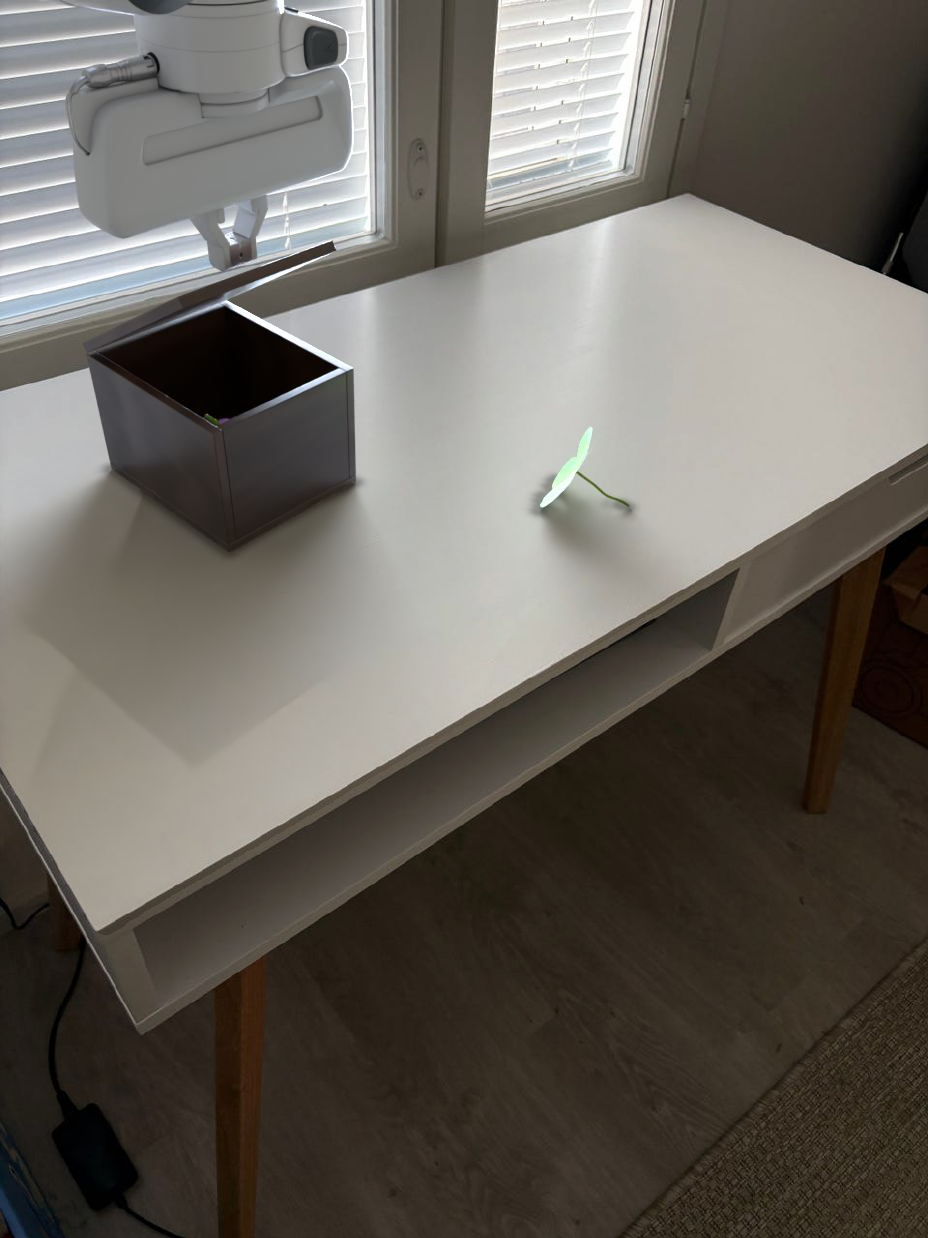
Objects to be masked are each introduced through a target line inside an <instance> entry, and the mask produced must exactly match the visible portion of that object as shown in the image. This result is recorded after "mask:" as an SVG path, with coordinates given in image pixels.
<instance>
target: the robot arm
mask: <svg viewBox="0 0 928 1238" xmlns="http://www.w3.org/2000/svg"><path fill="white" fill-rule="evenodd" d="M37 1H40V2H43V3H44V2H45V3H50V4H57V5H63V6H68V7H72V8H73V7H74V8H85V9H93V10H98V11H102V12H109V13H115V14H122V15H129V16H132V18H133V24H134V31H135V37H136V44H137V52H138V56H134V57H129V58H125V59H122V60H119V61H115V62H113V63H108V64H105V63H97V64H93V65H89V66H87V67H85V68H84V69H83V70H82V71H81V76H80V77H78V78H77V79H76V80H75V81H74V82H73V83H72V85H71V86H70V88H69V90H68V92H67V93H66V95H65V98H64V99H65V101H64V103H65V104H64V106H65V113H66V117H67V121H68V128H69V132H70V135H71V137H72V155H73V167H74V168H73V170H74V171H73V172H74V180H75V181H74V182H75V190H76V197H77V202H78V207H79V208H78V209H79V211H80V212H81V214H82V216H83V217H84V218H85V219H86V220H87V221H88V222H90V223H91V224H92V225H93V226H94V227H96V228H98V229H99V230H101V231H103V232H105V233H106V234H109V235H111V236H113V237H115V238H118V239H120V240H121V239H122V240H124V239H128V238H132V237H136V236H139V235H141V234H145V233H149V232H151V231H155V230H158V229H160V228H164V227H167V226H170V225H175V224H177V223H181V222H184V221H186V220H190V222H191V223H192V225H193V226H194V227H195V229H196V230H197V232H198V233H199V235H201V237H202V239H203V240H204V241H206V245H207V255H208V261H209V264H210V265H211V266H212V268H214V269H216V270H219V271H220V272H227V271H229V270H233V269H235V268H237V267H240V266H243V265H245V264H248V263H251V262H253V261H254V262H255V261H256V260H257V259H258V256H259V255H258V254H259V253H258V242H257V237H258V236H259V234H260V231H261V228H262V226H263V223H264V220H265V218H266V215H267V212H268V210H269V204H268V203H269V202H268V195H269V194H273V193H277V192H279V191H282V190H286V189H289V188H293V187H296V186H298V185H301V184H304V183H308V182H311V181H315V180H318V179H320V178H324V177H327V176H330V175H334V174H337V173H340V172H342V171H344V170H345V169H346V167H347V165H348V163H349V160H350V159H351V156H352V154H353V148H354V116H353V115H354V114H353V100H352V99H353V98H352V88H351V84H350V83H351V82H350V79H349V76H348V74H347V72H346V71H345V69H344V68H343V67H342V66H341V65H343V64H344V63H345V62H347V60H348V55H349V35H348V31H346V29H345V28H343V27H342V26H340V25H337V24H334V23H332V22H329V21H326V20H324V19H321V18H319V17H316V16H312V15H310V14H306V13H303V12H300V11H299V9H296V8H294V7H292V6H289V5H285V4H284V0H37ZM84 86H86V87H85V88H83V87H84ZM231 206H237V207H238V208H237V211H236V215H235V218H234V222H233V227H232V230H231V231H230V232H229V231H228V232H227V233H224V232H223V230H222V228H221V227H220V226H219V225H221V224H224V223H225V222H226V213H225V208H228V207H231Z"/></svg>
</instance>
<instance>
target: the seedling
mask: <svg viewBox="0 0 928 1238" xmlns="http://www.w3.org/2000/svg"><path fill="white" fill-rule="evenodd" d="M592 435H593V427H592V426H589V427H588V428H587V429H586V431H585V432H584V433H583V436H582V437H581V439H580V442H579V445H578V449H577V454H576V456H573V457H571V458H570V459H568V461H567V462H566V463H565V464H564V465H563V466H562V467H561V469H560V471H559V472H558V473H557V475H556V477H555V478H554V480H553V483H552V485H551V491H549V492H548V493H547V494H546V495H544V497H543V499H542V500H541V501H542V502H541V503H540V504H539V507H540V508H544V507H546V506H548V505H549V504H551V503H552V502H553V501H554V500H556V499H557V498H558V497H559V496H560V495H561V494H562V493H563V491H565V490H566V488H567V487H568V486H570V484H571V482H572V481H573V479H574V477H575V475H576V474H577V475H578V476H579V477H580V478H582V479H583V480H585V481H586V482H587V483H589V484H590V485H592V486H593V487H594V488H595V489H596V490H598V492H599V493H601V495H603V496H604V497H606V498H608V499H611V500H614V501H617V502H619V503H621V504H623V505H625V506H626V507H627V508H629V507H630V504H629V503H627V502H626V501H624V500H623V499H621V498H618V497H615V496H613V495H610V494H608V493H606V492H605V491H603V490H602V488H600V487H599V485H597V484H596V483H595V482H593V481H592V480H591V479H589V478H588V477H587V476H586V475H584V474H582V473H581V472H580V471H578V470H579V469H580V467H581V466H582V464H583V463H584V461H585V459H586V458H587V457H588V455H589V454H590V452H591V451H592V449H593V448H594V446H595V444H594V445H593V446H592V448H591V449H590V450H589V448H590V444H591V440H592V439H591V438H592Z"/></svg>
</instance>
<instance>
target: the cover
mask: <svg viewBox="0 0 928 1238" xmlns="http://www.w3.org/2000/svg"><path fill="white" fill-rule="evenodd" d="M337 251H338V250H337V248H336V244H335V242H334V240H333V239H331V240H329V241H326V242H322V243H320V244H317V245H315V246H312V247H309V248H306V249H303V250H301V251H298V252H295V253H293V254H290V255H287V256H285V257H282V258H279V259H276V260H273V261H270V262H268V263H266V264H263V265H260V266H257V267H255V268H252V269H249V270H246V271H243V272H241V273H238V274H235V275H233V276H230V277H227V278H225V279H221V280H219V281H216V282H213V283H211V284H208V285H205V286H202V287H200V288H197V289H195V290H191V291H189V292H186V293H183V294H181V295H178V296H176V297H173V298H172V299H170V300H167V301H166V302H163V303H161V304H159V305H158V306H155V307H153V308H151V309H150V310H147V311H145V312H143V313H141V314H139V315H137V316H135V317H133V318H130V319H129V320H127V321H125V322H123V323H121V324H119V325H116V326H115V327H112V328H111V329H108V330H106V331H105V332H102V333H100V334H98V335H96V336H94V337H92V338H90V339H88V340H86V341H84V342H82V346H83V348H84V350H85V352H86V354H87V353H90V352H92V351H95V350H97V349H100V348H103V347H105V346H108V345H111V344H113V343H116V342H118V341H121V340H124V339H126V338H129V337H132V336H134V335H137V334H139V333H142V332H145V331H147V330H150V329H153V328H155V327H158V326H160V325H163V324H166V323H168V322H171V321H174V320H176V319H179V318H181V317H184V316H187V315H189V314H192V313H194V312H197V311H200V310H202V309H205V308H208V307H210V306H213V305H215V304H219V303H221V302H223V301H228V300H230V299H232V298H234V297H237V296H239V295H241V294H243V293H246V292H248V291H251V290H252V289H254V288H257V287H260V286H261V285H264V284H267V283H268V282H270V281H273V280H275V279H277V278H279V277H281V276H284V275H286V274H288V273H290V272H293V271H296V270H298V269H299V268H302V267H304V266H306V265H308V264H311V263H313V262H315V261H317V260H321V259H322V258H325V257H327V256H328V255H331V254H333V253H335V252H337Z"/></svg>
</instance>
